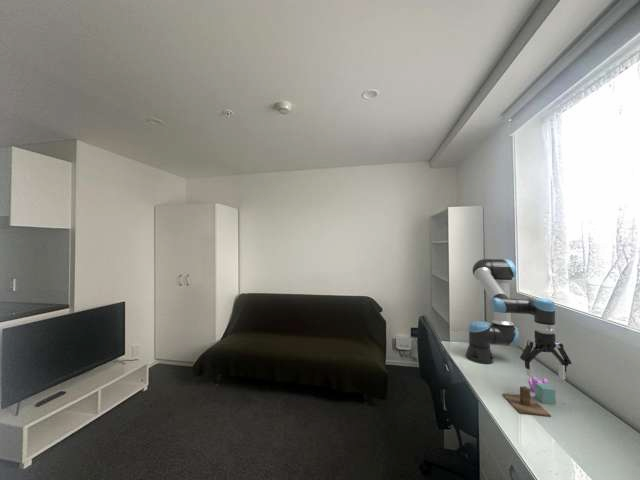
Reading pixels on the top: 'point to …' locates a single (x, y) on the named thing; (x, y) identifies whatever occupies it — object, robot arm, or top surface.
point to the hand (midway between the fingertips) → (545, 377)
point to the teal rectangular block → (545, 393)
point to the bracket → (534, 380)
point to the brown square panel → (526, 403)
